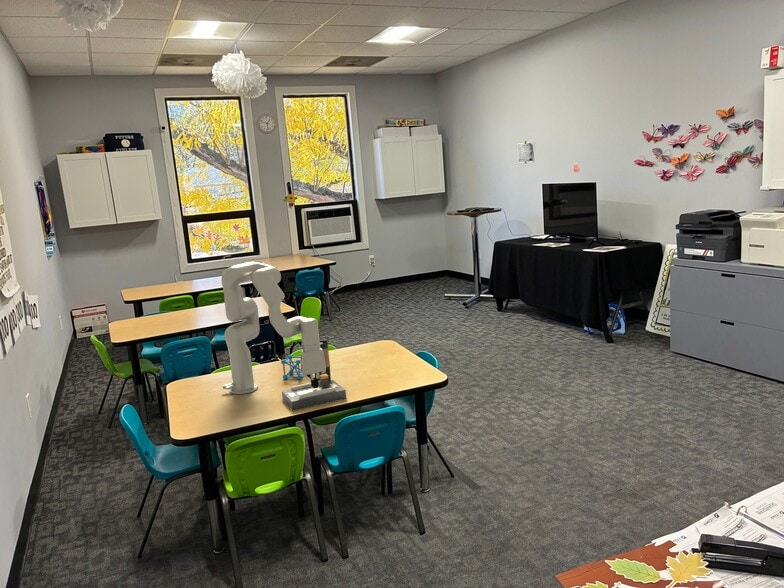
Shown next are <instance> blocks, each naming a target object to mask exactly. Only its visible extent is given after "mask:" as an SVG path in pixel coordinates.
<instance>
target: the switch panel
mask: <svg viewBox="0 0 784 588" xmlns="http://www.w3.org/2000/svg"><path fill="white" fill-rule="evenodd" d="M318 382H319V385H318V388H315V389H314V388H313V387H312V386H311V382H307V383H303V384H299V385H292V386H290V388H289V389H284V390H281V396H282V400H284V401H285V402H286V403H285V402H284V401H283V402H284V403H285V404H286V405H287V406H288V408H289V409H290V408H291V409H292V410H294V411H299V410H302V409H306V408H311V407H316V406H319V405H324V403H325V404H328V402H329V403H333V402H337V400H338V401H341V399H342V400H346V399H347V391H346V388H344V386H342V385H340V384H339V383H338V382H336V380H334V379H331V380H330V381H329V388H324V389H322V388H321V387H320V381H318ZM315 405H316V406H315ZM291 409H290V410H291ZM292 410H291V411H292Z"/></svg>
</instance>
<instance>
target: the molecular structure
mask: <svg viewBox="0 0 784 588" xmlns="http://www.w3.org/2000/svg"><path fill="white" fill-rule="evenodd" d="M292 359H296V360H295V361H293V360H292ZM280 364H282V369H283V375H282V379H283V380H287V379H298V380H302V379H303V376H302V371H301V367H300V365H301V356H293V355H291V354H288V355H287V358H286V359H281V360H280ZM285 364H286V365H287V366H289V368H290V369H289V370H288V372H287V374H286V365H285ZM294 373H295V374H297V376H296V375H295V376H293V375H294ZM290 375H291V376H290Z"/></svg>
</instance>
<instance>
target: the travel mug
mask: <svg viewBox="0 0 784 588" xmlns="http://www.w3.org/2000/svg"><path fill="white" fill-rule="evenodd" d="M319 341H320V348H322V350H323V353H324V358H325V364H326V372H325V373H323V374H327V375H328V377H329V378H328V380H329V381H330V380H332V379H331V378H332V377H331V376H332V375H331V364H330V363H331V361H330V354H329V353H330V352H329V344H328V341H327V340H319ZM321 375H322V374H321ZM313 376H315V373H314V374H313ZM318 381H320V378H319V379H318Z"/></svg>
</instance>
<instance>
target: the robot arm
mask: <svg viewBox="0 0 784 588" xmlns="http://www.w3.org/2000/svg"><path fill="white" fill-rule="evenodd" d="M281 280H282V275H281V272H280V270H279V269H278V268H276V267H275V266H272V265H269V264H267V263H266V264H265V263H261V262H257V261H256V262H255V261H249V262H244V263H238V264H234V265H232V266H230V267H227V268H226V269H225V270H224V271H223V272H222V274H221V286H222V290H223V297H224V298H223V299H224V308H225V309H224V310H225V316H226V319H227V320H228V321H230V322H231V323H232V322H233V323H234V324H231V325H230V326H228V327H227V328H226V329H225V331H224V334H223V335H224V339H225V343H226V346H227V350H228V357H229V362H230V371H231V381H230V383H228V384H222V390H227V391H228V390H229V391H230V393H231V394H234V395H244V394H250V393H253V392H255V391H257V390H258V389H259V386H258V385H259V384H256V383H255V379H254V373H253V371H254V370H253V364H252V355H251V351H250V348H249V347H248V345H247V342H249V341H252V340H254V339H256V338H257V337H258V336H259V334H260V319H259V308H258V305H257V303H256V301H255V300H254V299H253V298H252V297H247V296H246V297H244V290H243V288H242V286H241V285H240V284H244V283H249V282H251V283H252V284H253V286H254V288H255V289H256V291H257V292H258V293H259V295H260V296H261V298H263V300H264V302H265V303H266V304H267V307H268V309H267V313H268V318H269V321H270V324H271V325H272V327H273V328H274V330H275V331H276V332H277V334H279V336H281V337H282V338H284V339H290V338H292V337H294V336H297V335H301V345H299V346H298V348H299V349H298V350H301V351H300V352H301V353H300V357H301V358H300V359H301V362H300V369H301V371H302V373H301V375H302V378H309V379H310V383H311V386H312V387H313V388H314V389H315V388H318V385H319V382H318V379H319V377H320V375H321V374H323V373H325V372H326V364H325V358H324V353H323V350H322V348H320V341H321V340H320V333H319V332H320V329H319V321H318V320H317V319H316V318H315V317H304V316H300V315H298V316H297V315H296V316H294V317H291V318H288V319H286V317H285V316H284V314H283V313H282V309H281V304H282V302H283V300H284V299H285V297H286V296H285V293H284V291H283V290H282V289H281V288H280V286H279V283H280V282H281ZM236 322H237V323H236ZM314 373H315V375H314Z"/></svg>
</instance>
